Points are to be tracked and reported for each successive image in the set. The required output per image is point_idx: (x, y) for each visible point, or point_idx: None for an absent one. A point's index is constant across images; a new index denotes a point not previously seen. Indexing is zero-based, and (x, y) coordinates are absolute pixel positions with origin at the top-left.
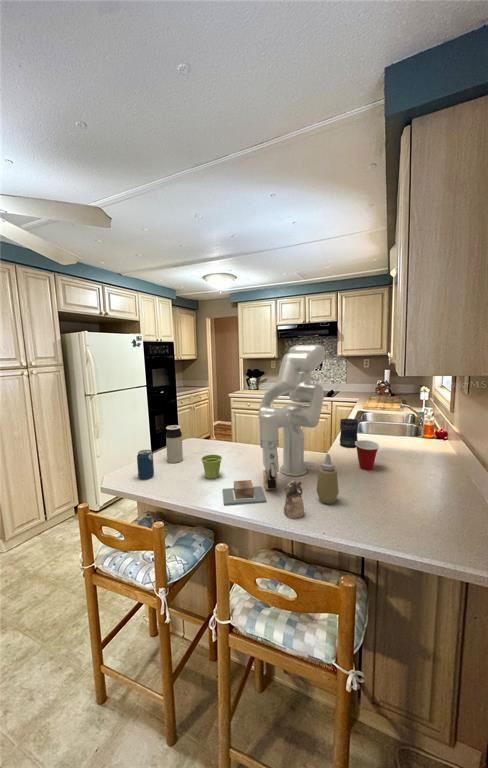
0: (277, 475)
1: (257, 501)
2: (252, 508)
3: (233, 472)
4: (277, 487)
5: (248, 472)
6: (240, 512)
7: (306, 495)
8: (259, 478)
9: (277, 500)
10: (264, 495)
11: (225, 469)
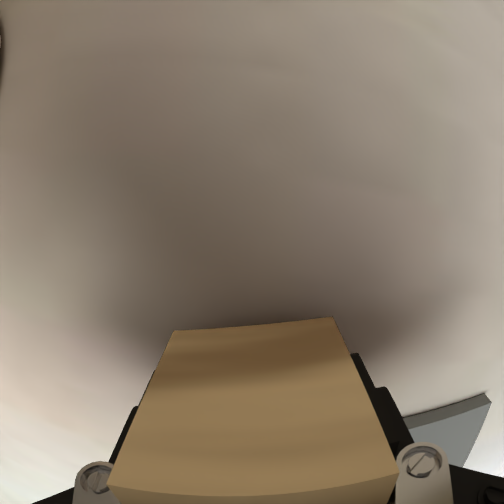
0: (392, 457)
1: (471, 445)
2: (498, 444)
3: (45, 490)
4: (337, 328)
5: (11, 435)
6: (496, 473)
7: (434, 19)
8: (62, 410)
9: (492, 318)
10: (426, 425)
11: (32, 498)
